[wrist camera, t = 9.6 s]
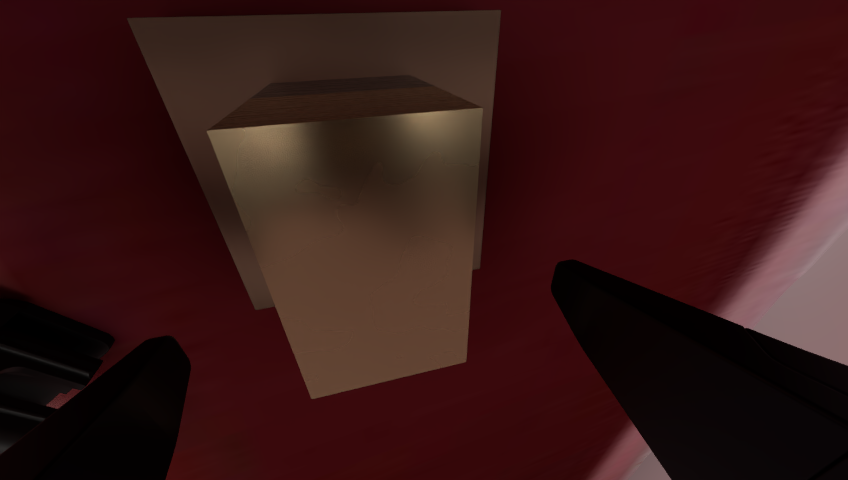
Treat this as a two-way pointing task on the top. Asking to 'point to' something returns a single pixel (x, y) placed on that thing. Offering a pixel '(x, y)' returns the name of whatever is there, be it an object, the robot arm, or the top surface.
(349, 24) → the walnut stand
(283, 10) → the top surface
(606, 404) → the top surface
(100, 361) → the end cap
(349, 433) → the top surface
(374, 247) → the block
